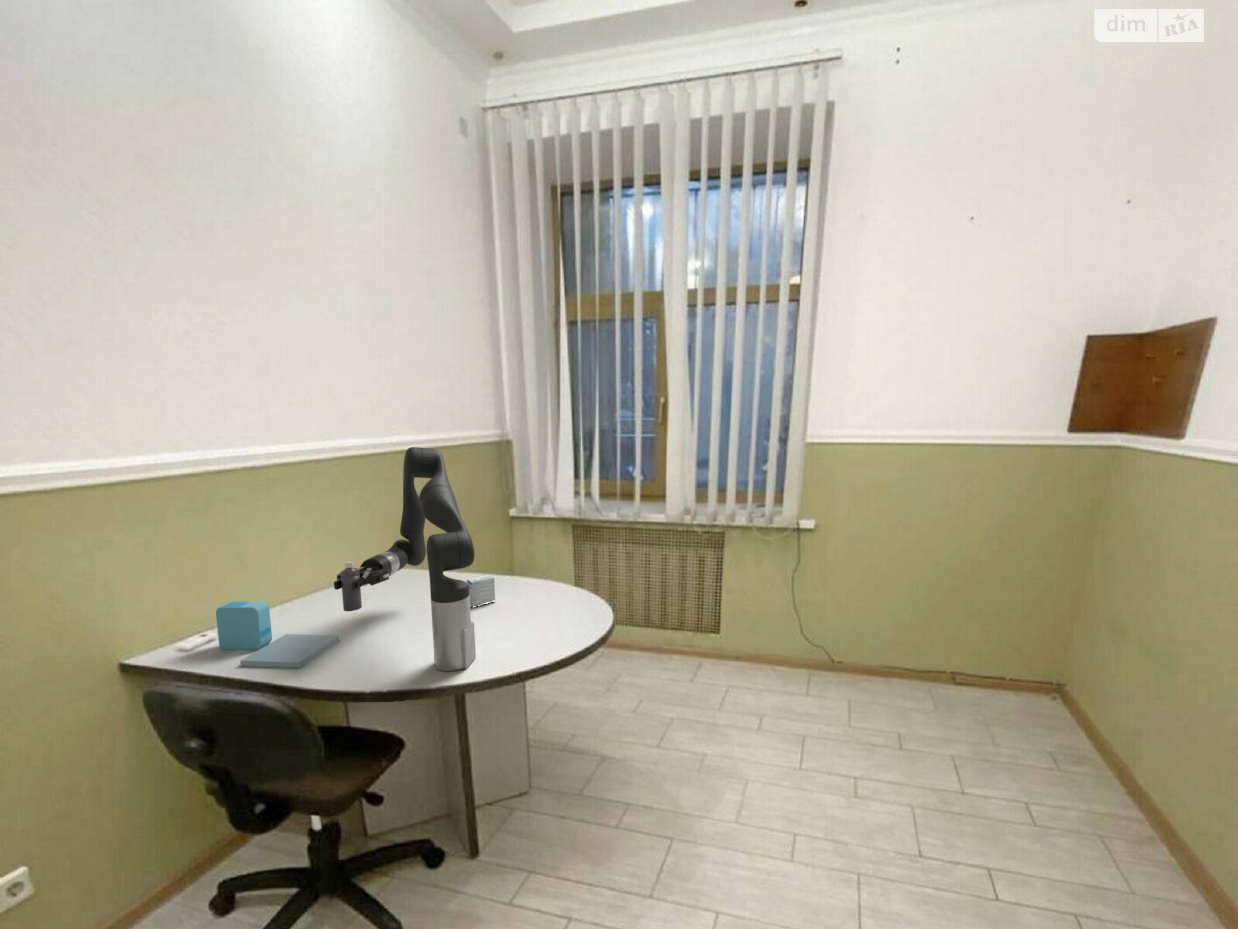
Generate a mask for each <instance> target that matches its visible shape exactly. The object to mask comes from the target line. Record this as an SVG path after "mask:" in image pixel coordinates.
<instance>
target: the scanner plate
mask: <svg viewBox="0 0 1238 929" xmlns="http://www.w3.org/2000/svg"><path fill="white" fill-rule="evenodd" d="M338 642H340V635H339V634H337V635H336V634H335V635H334V634H333V635H332V634H296V633H295V634H294V633H293V634H292V633H286V634H283V635H282V636H280V637H278V638H277V639H275V640H273V641H271V642H270V643H268V644H267V645H265V646H263V647H262V648H260V649H258V650H255V651H254V652H253V653H251V654H249V655H247V656H246V657H243V658H242V659H241V660H240V661H239V663H240V667H252V668H253V667H254V668H257V667H258V668H280V669H281V668H282V669H284V668H285V669H301V668H302V667H303V666H305V665H307V664H308V663H309V662H311V661H312V660H314V659H315V658H317V657H318V656H320V655H321V654H322V653H323V652H325V651H326V650H328V649H329V648H331V647H333V646H334V645H335V644H337V643H338Z"/></svg>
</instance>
